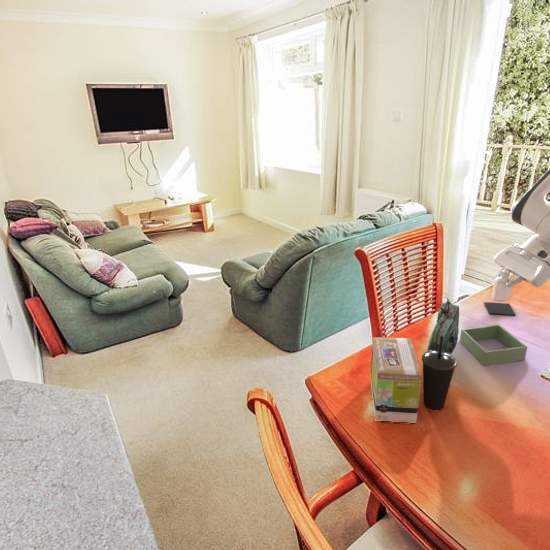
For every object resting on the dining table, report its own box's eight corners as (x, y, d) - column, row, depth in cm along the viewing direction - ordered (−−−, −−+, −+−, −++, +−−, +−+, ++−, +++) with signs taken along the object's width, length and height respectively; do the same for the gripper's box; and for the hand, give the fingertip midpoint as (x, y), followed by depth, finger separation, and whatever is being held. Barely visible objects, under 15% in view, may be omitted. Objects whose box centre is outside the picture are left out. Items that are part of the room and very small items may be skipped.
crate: (496, 336, 117) (499, 324, 115) (524, 360, 106) (527, 347, 104) (459, 341, 116) (461, 329, 115) (483, 365, 105) (485, 352, 103)
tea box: (418, 425, 88) (423, 374, 82) (374, 422, 90) (375, 373, 84) (407, 382, 102) (411, 336, 96) (369, 380, 103) (371, 335, 97)
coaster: (509, 304, 134) (509, 303, 134) (515, 316, 127) (515, 314, 127) (484, 303, 136) (484, 302, 136) (489, 314, 129) (489, 313, 129)
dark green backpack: (436, 346, 115) (443, 288, 107) (459, 352, 112) (468, 292, 103) (418, 384, 100) (425, 320, 92) (444, 393, 97) (453, 327, 89)
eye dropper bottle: (510, 303, 127) (516, 271, 122) (491, 300, 130) (497, 269, 125) (509, 297, 131) (516, 266, 126) (491, 295, 133) (496, 264, 128)
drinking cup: (443, 420, 89) (453, 350, 81) (412, 405, 94) (418, 339, 86) (454, 401, 94) (465, 334, 86) (424, 389, 99) (431, 324, 91)
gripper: (509, 237, 132) (478, 265, 136) (554, 258, 114) (517, 290, 117) (518, 247, 134) (488, 275, 138) (564, 270, 116) (528, 301, 119)
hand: (502, 282), depth 127 cm, fingers closed on eye dropper bottle, 3 cm apart
